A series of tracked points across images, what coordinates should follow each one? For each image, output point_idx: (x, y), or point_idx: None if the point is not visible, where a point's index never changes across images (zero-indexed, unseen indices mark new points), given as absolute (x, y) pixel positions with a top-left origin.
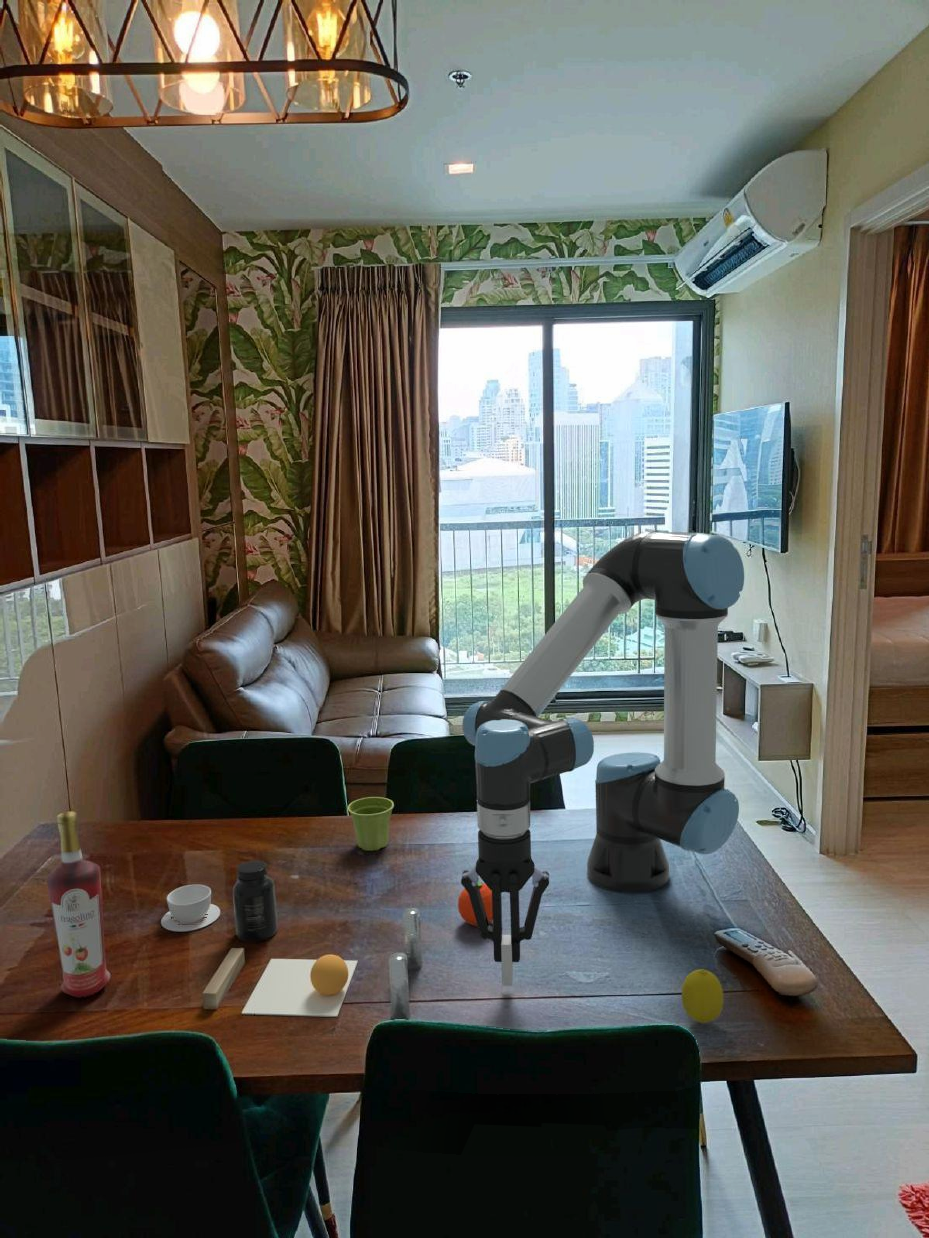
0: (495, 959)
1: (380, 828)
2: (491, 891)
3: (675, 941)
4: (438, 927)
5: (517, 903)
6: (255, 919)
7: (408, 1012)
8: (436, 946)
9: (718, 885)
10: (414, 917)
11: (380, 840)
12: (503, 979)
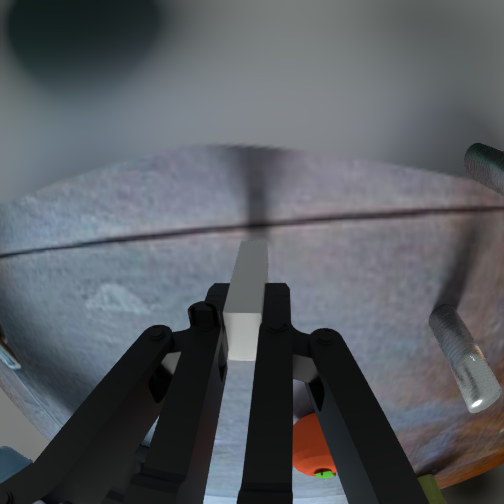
0: (284, 286)
1: None
2: (297, 465)
3: (42, 359)
4: (383, 403)
5: (151, 458)
6: None
7: (471, 156)
8: (395, 366)
9: (53, 424)
10: (484, 388)
11: None
12: (263, 248)
